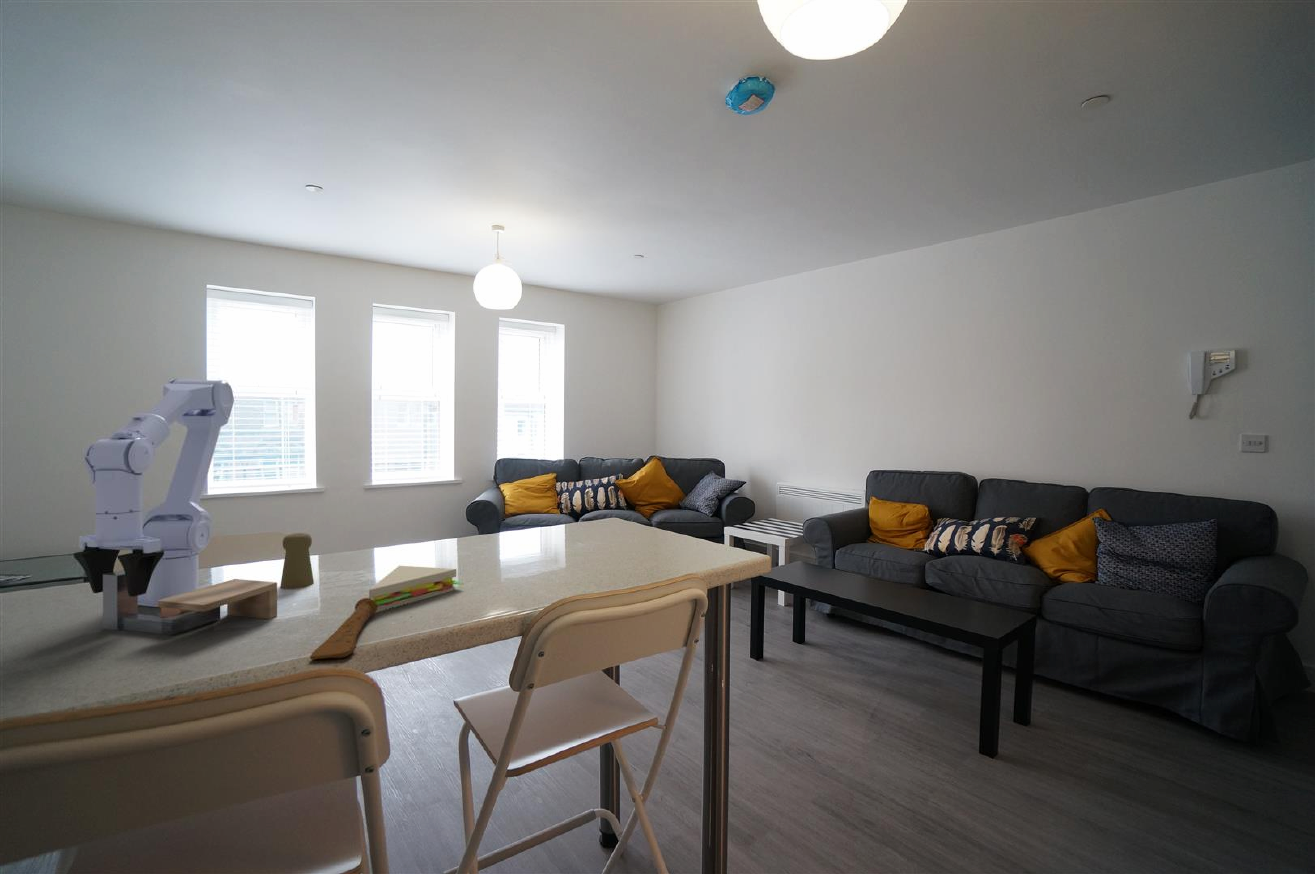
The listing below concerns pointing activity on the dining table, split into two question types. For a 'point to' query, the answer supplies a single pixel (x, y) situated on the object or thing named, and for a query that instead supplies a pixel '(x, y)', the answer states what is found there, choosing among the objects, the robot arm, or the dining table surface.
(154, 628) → the grey angled block
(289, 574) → the cork
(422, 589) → the sandwich
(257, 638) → the dining table surface
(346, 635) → the primitive tool
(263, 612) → the cubby
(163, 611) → the cube
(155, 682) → the dining table surface
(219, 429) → the robot arm
